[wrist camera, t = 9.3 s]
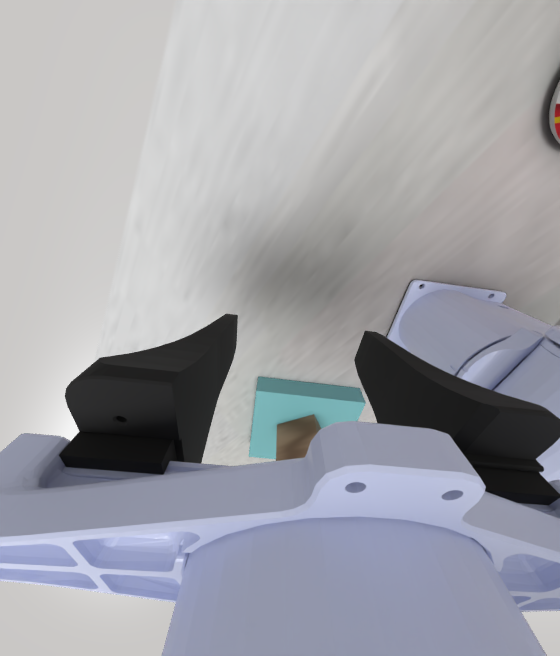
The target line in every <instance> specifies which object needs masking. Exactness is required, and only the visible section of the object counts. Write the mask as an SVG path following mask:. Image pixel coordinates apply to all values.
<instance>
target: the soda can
mask: <svg viewBox="0 0 560 656" xmlns="http://www.w3.org/2000/svg"><path fill="white" fill-rule="evenodd" d="M549 124H550V129H551V132H552V134H553V135H554V137H555V139H556V140H557V141H558V143H559V144H560V80H559V82H558V85H557V87H556V89H555V92H554V94H553V97H552V101H551V105H550V110H549Z"/></svg>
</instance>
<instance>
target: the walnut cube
mask: <svg viewBox="0 0 560 656" xmlns="http://www.w3.org/2000/svg"><path fill="white" fill-rule="evenodd" d="M319 430H321V427H320V425H319V423H318V421H317V419H316V417H315V415H314V414H313V415H309V416H306V417H302V418H299V419H295V420H292V421H288V422H285V423H281V424H277V439H276V461H281V460H289V459H297V458H304V457H305V456H306V454H307V451H308V448H309V445H310V442H311V440H312V439H313V438H314V437H315V435H316V434H317V433H318V431H319Z"/></svg>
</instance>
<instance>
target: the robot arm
mask: <svg viewBox="0 0 560 656" xmlns="http://www.w3.org/2000/svg"><path fill="white" fill-rule="evenodd" d="M421 284H423V285H422V287H420V288H419V286H420V285H421ZM490 294H491V295H490ZM489 295H490V296H489ZM488 296H489V297H488ZM505 298H506V293H504V292H502V291H495V290H488V289H481V288H474V287H466V286H459V285H452V284H445V283H438V282H431V281H423V280H413V281H412V282H411V283H410V285H409V287H408V290H407V292H406V294H405V297H404V299H403V301H402V304H401V306H400V308H399V310H398V313H397V315H396V317H395V320H394V322H393V324H392V327H391V329H390V331H389V334H388V336H387V338H386V337H384V336H383V335H381V334H379V333H377V332H371V331H365V332H364V335H363V338H362V340H361V343H360V346H359V349H358V351H357V354H356V357H355V359H354V360H355V365H356V369H357V373H358V376H359V378H360V380H361V383H362V385H363V388H364V390H365V392H366V394H367V397H368V399H369V401H370V404H371V406H372V408H373V411H374V413H375V416H376V419H377V423H369V422H358V421H346V422H335V423H333V424H331V425H329V426H327V427H324V428H322V429H321V430H319V431H318V433H317V434H316V435H315V437H314V438H313V439H312V440H311V442H310V445H309V448H308V451H307V454H306V456H305V457H304V458H297V459H289V460H281V461H272V462H264V463H256V464H247V465H239V466H224V465H212V464H201V462H202V457H203V453H204V449H205V445H206V441H207V437H208V433H209V430H210V426H211V422H212V418H213V414H214V411H215V407H216V404H217V400H218V397H219V394H220V391H221V389H222V386H223V384H224V381H225V379H226V376H227V374H228V372H229V369H230V366H231V364H232V361H233V358H234V354H235V350H236V341H237V318H238V315H232V314H225V315H224V316H222V317H220V318H219V319H217V320H216V321H214V322H213V323H211V324H210V325H208V326H206V327H204V328H203V329H201V330H199V331H197V332H195V333H193V334H191V335H189V336H187V337H185V338H182V339H180V340H177V341H175V342H172V343H168V344H165V345H162V346H159V347H156V348H152V349H148V350H144V351H139V352H134V353H129V354H123V355H116V356H110V357H102V358H99V359H98V360H97V361H96V362H95V363H93V364H92V365H91V366H90V367H89V368H87V369H86V370H85V371H84V372H83V373H81V374H80V375H79V376H78V377H77V378H75V379H74V380H73V381H72V382H71V383H70V384H69V385H68V387H67V388H66V393H65V398H66V402H67V405H68V408H69V410H70V412H71V414H72V416H73V418H74V420H75V422H76V424H77V427H78V429H79V431H80V432H79V433H78V434H77V435H76V436H75V437H74V438H73V440H72V441H70V440H68V439H66V438H64V437H60V436H53V435H41V434H30V433H24V434H21V435H19V436H18V437H17V438H16V439H15V440H14V441H13V442H11V443H10V444H9V445H8V446H7V447H6V448H5V449H3V450H2V451H1V452H0V581H8V582H18V583H29V584H40V585H48V586H56V587H64V588H72V589H80V590H87V591H94V592H102V593H109V594H116V595H124V596H131V597H139V598H146V599H153V600H160V601H168V602H175V603H176V604H175V608H174V612H173V615H172V619H171V623H170V627H169V630H168V634H167V638H166V641H165V645H164V649H163V652H162V656H547V655H546V653H545V652H544V650H543V648H542V646H541V645H540V643H539V642H538V640H537V638H536V636H535V635H534V633H533V631H532V630H531V628H530V626H529V624H528V623H527V621H526V619H525V618H524V616H523V614H522V613H521V612H530V611H560V326H557V325H556V326H551V325H549V324H547V323H544V322H542V321H540V320H538V319H535V318H533V317H531V316H529V315H526V314H524V313H522V312H520V311H517V310H515V309H513V308H511V307H508V306H506V305H504V304H502V302H503V301H504V299H505Z"/></svg>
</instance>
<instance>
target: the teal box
mask: <svg viewBox="0 0 560 656" xmlns="http://www.w3.org/2000/svg"><path fill="white" fill-rule="evenodd" d="M364 406H365V400H364V398H363V395H362V393H361V391H360V388H353V387H344V386H335V385H327V384H318V383H309V382H301V381H292V380H283V379H275V378H266V377H258V383H257V390H256V398H255V407H254V416H253V424H252V433H251V441H250V450H249V457H259V458H269V459H276V439H277V424H281V423H285V422H288V421H292V420H295V419H299V418H302V417H306V416H309V415H313V414H314V415H315V417H316V419H317V421H318V423H319V425H320V427H321V429H322V428H324V427H327V426H329V425H331V424H333V423H335V422H346V421H358V419H359V416H360V414H361V412H362V410H363V408H364Z"/></svg>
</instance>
